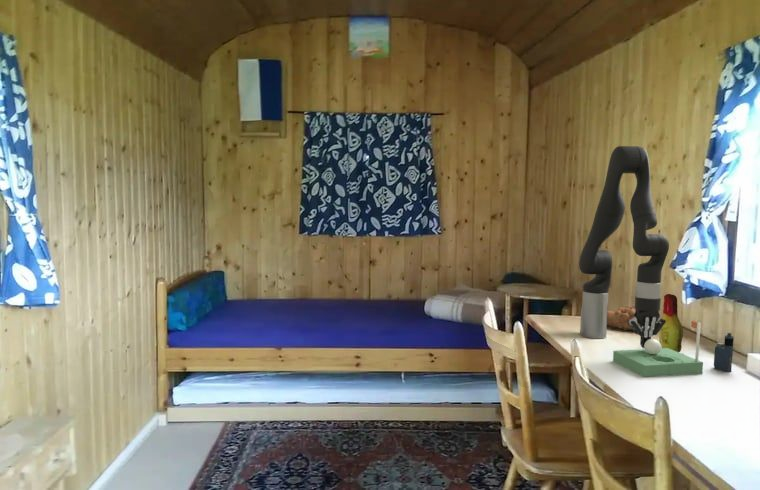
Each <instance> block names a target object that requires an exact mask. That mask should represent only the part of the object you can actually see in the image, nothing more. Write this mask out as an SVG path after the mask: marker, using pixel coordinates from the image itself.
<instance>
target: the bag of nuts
mask: <svg viewBox="0 0 760 490" xmlns="http://www.w3.org/2000/svg"><path fill="white" fill-rule="evenodd" d="M635 312H636V310H635V304H634V305H632V306H631V305H626V306H625V307H618V308H617V310H615V311H612V310H609V309H608V313H607V327H608V326H609V327H615V328H618V329H620V330H621V329H622V330H624V331H629V330H633V329H632V328H631V327H630V325H629V324H628V322H627V321H628V320H631V319H632V318H634V314H635ZM637 323H638V322H637ZM637 325H638V324H637ZM638 327H639V325H638Z"/></svg>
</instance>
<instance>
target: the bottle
mask: <svg viewBox="0 0 760 490" xmlns="http://www.w3.org/2000/svg"><path fill="white" fill-rule="evenodd" d="M662 307H663V309H662V317H661V318H662V319H664V320H666V323H665V324H664V325H663V327H662V328H661V329H660V331H659V332H658V334H659V335H658V338H659V339H658V341H659V342H660V344H661V348H669V349H671V350H674V351H676V352H679V353H681V350H682V342H683V335H684V329H683V325H682V323H681V321H680V319H679V316H678V298H677V296H676V294H672V293H667V294H665V295H663V305H662Z"/></svg>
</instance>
